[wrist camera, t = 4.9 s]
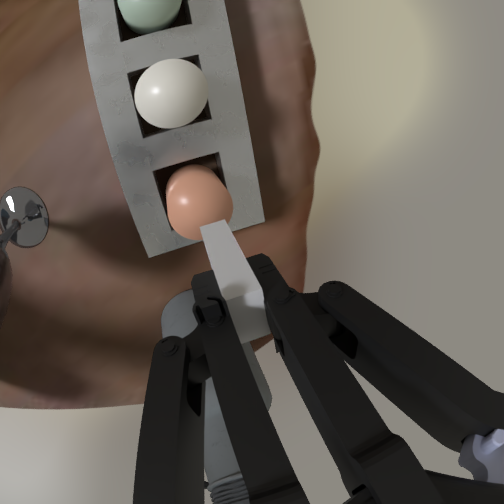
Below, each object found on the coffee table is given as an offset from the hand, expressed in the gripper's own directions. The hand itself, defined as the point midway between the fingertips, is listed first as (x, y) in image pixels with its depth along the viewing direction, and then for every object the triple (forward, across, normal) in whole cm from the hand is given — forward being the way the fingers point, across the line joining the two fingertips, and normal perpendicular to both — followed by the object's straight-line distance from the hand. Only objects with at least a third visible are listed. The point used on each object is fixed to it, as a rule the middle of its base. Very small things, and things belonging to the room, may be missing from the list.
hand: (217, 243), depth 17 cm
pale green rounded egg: (+12, 0, +18) cm, 22 cm away
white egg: (+10, 0, +9) cm, 14 cm away
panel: (+13, 0, +9) cm, 16 cm away
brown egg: (+10, 0, 0) cm, 10 cm away
